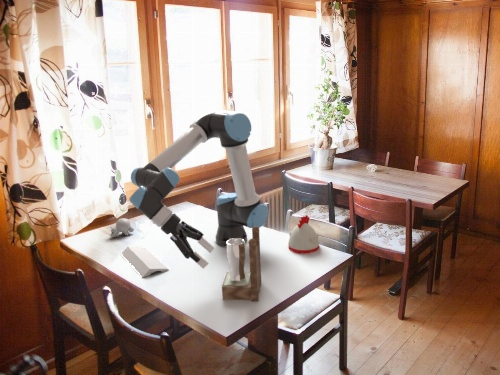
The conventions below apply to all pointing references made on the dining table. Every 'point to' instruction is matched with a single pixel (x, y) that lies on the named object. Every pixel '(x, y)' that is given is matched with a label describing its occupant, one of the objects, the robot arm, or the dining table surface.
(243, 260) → the white tumbler cup
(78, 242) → the dining table surface
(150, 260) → the crown molding
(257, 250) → the wooden l-shaped piece
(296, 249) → the kitchen timer
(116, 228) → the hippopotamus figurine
